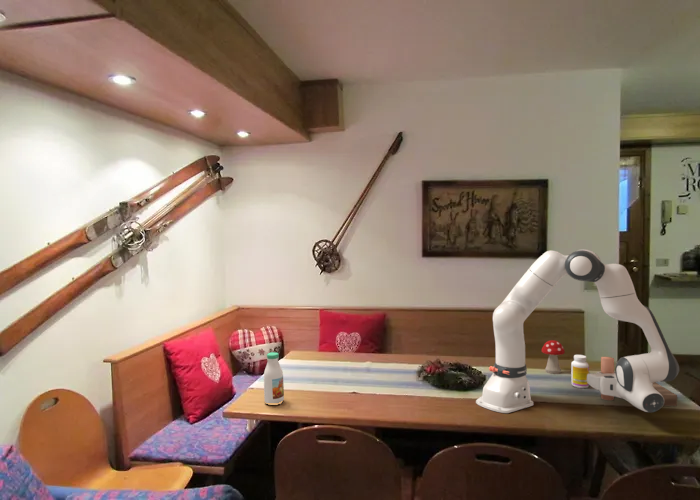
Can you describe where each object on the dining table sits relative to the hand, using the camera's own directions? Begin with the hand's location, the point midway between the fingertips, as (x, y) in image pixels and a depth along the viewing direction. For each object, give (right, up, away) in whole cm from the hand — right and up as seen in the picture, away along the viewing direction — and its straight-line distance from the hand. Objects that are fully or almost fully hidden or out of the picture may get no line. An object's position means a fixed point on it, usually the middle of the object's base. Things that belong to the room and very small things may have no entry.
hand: (606, 373), depth 174 cm
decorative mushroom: (-6, -8, +32) cm, 33 cm away
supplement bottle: (-3, -9, +14) cm, 17 cm away
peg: (0, -10, 0) cm, 10 cm away
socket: (+15, -9, -1) cm, 18 cm away
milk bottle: (-132, -13, +4) cm, 132 cm away
